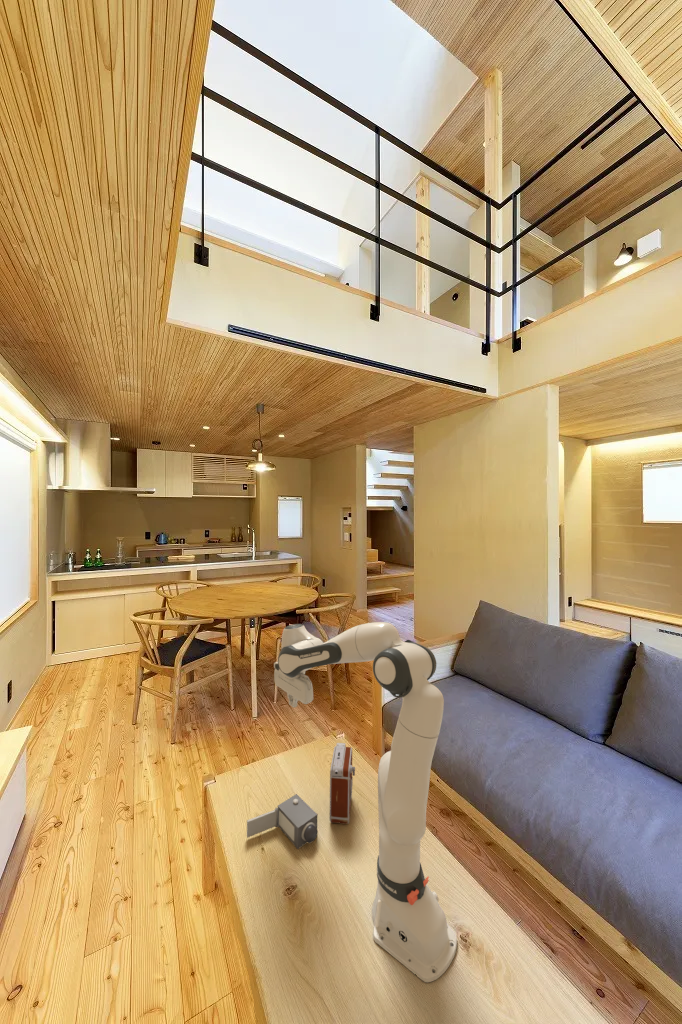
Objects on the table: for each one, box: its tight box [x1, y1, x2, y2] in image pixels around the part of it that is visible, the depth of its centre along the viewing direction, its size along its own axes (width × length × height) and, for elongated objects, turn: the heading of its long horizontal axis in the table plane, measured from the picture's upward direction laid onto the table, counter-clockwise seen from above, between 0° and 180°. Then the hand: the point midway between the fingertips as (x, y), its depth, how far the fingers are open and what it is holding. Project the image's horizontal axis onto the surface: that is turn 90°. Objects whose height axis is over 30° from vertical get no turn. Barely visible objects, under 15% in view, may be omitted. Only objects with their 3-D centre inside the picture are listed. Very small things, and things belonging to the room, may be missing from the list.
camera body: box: [277, 793, 319, 850], centre depth 127 cm, size 14×8×8 cm, turn 42°
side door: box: [246, 807, 279, 838], centre depth 126 cm, size 10×1×6 cm, turn 118°
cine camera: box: [329, 742, 356, 825], centre depth 139 cm, size 9×19×20 cm, turn 174°
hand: (293, 705), depth 138 cm, fingers closed
